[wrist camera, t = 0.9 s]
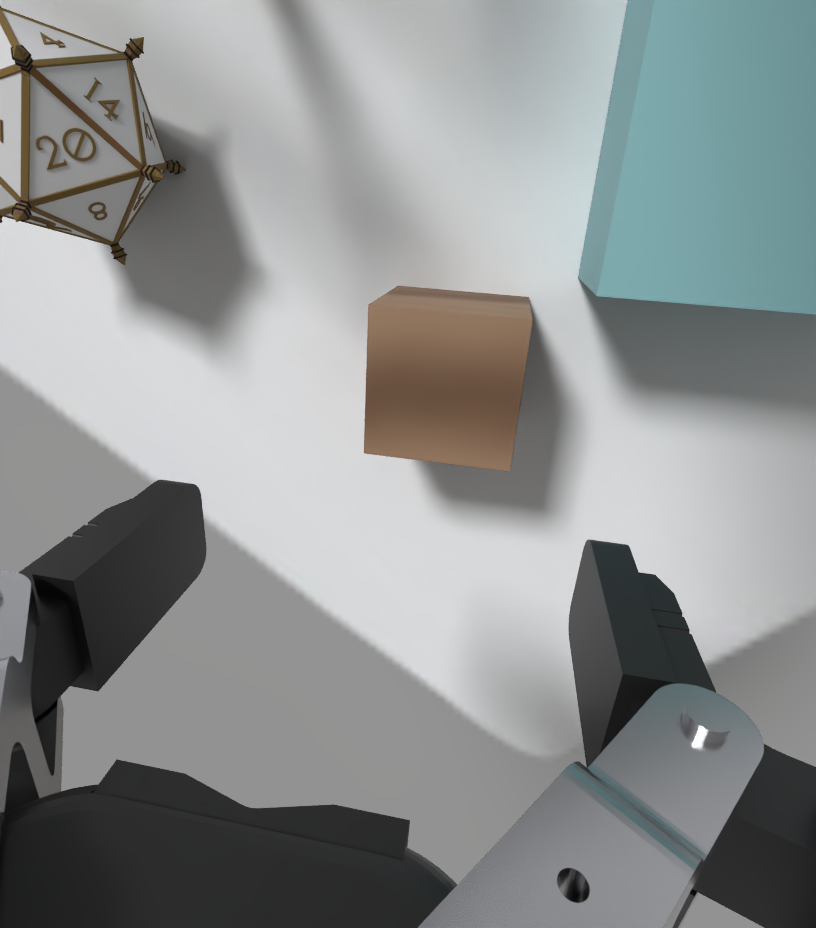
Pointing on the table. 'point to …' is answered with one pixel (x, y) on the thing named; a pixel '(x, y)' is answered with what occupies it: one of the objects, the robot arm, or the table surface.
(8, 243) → the table surface
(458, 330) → the walnut cube
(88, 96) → the game die
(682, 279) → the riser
